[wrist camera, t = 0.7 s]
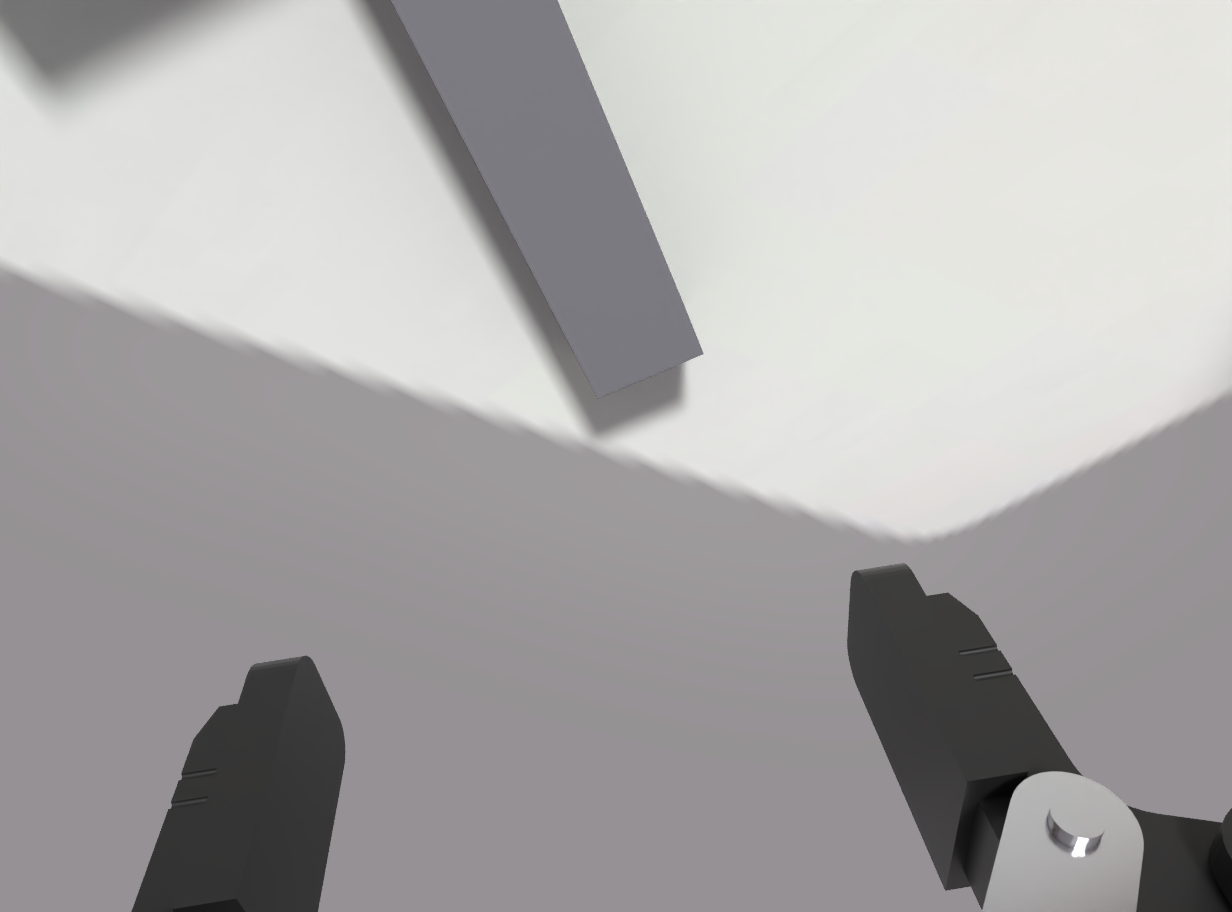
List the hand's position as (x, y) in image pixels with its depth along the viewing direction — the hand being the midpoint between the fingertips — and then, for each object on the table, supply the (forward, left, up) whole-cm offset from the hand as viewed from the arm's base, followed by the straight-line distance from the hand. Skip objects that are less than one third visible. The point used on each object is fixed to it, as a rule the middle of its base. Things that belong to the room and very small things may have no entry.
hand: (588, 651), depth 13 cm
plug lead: (-1, -3, -21) cm, 21 cm away
